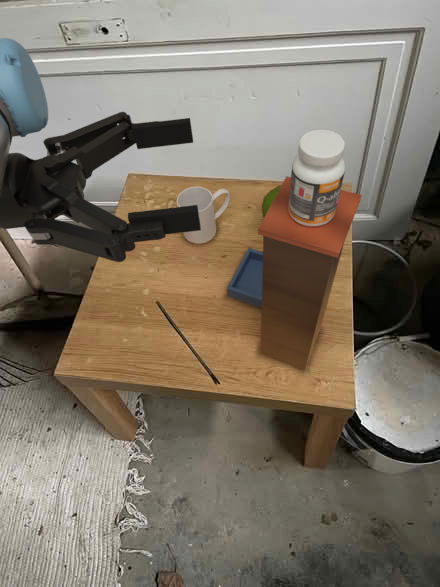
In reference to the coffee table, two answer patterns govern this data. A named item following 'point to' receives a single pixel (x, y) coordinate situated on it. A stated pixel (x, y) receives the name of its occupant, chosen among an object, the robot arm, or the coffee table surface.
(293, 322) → the stand
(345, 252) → the coffee table surface
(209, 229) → the mug
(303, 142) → the pill bottle
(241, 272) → the blue tray
